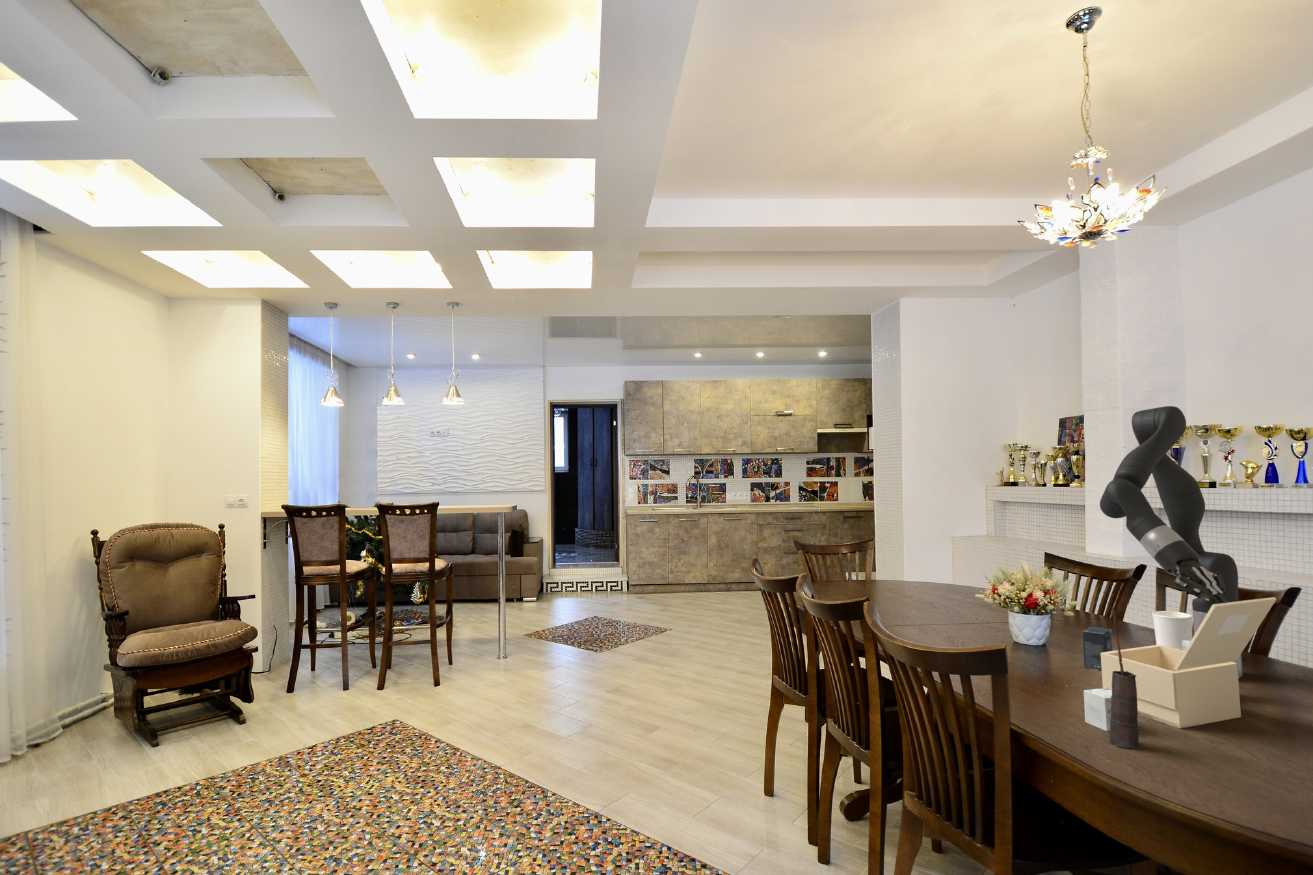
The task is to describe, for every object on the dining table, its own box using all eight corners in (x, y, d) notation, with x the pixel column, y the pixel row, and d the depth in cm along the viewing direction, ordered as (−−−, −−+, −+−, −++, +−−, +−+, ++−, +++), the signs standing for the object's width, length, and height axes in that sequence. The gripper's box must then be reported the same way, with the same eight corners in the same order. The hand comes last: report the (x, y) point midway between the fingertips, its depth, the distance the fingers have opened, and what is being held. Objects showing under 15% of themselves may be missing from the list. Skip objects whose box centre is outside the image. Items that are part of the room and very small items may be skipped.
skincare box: (1107, 732, 149) (1104, 697, 150) (1084, 722, 155) (1082, 689, 155) (1130, 729, 150) (1128, 695, 151) (1107, 719, 156) (1105, 687, 157)
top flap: (1273, 597, 149) (1277, 599, 148) (1233, 659, 156) (1236, 661, 156) (1212, 604, 143) (1215, 606, 142) (1174, 668, 151) (1176, 670, 150)
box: (1106, 671, 192) (1104, 633, 192) (1083, 667, 196) (1081, 630, 196) (1114, 665, 197) (1111, 628, 198) (1091, 662, 201) (1089, 625, 202)
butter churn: (1167, 756, 136) (1157, 614, 138) (1115, 754, 138) (1105, 614, 139) (1143, 738, 145) (1134, 605, 147) (1094, 736, 147) (1085, 605, 148)
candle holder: (1154, 648, 213) (1151, 609, 214) (1194, 652, 207) (1191, 612, 208) (1154, 655, 205) (1151, 615, 206) (1196, 660, 199) (1193, 618, 200)
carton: (1161, 692, 173) (1158, 644, 174) (1242, 716, 155) (1238, 663, 156) (1101, 702, 167) (1098, 652, 168) (1178, 728, 150) (1174, 673, 150)
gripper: (1158, 540, 157) (1220, 603, 144) (1199, 537, 161) (1263, 598, 148) (1137, 561, 161) (1195, 624, 149) (1178, 557, 165) (1238, 618, 153)
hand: (1229, 611), depth 149 cm, fingers closed
